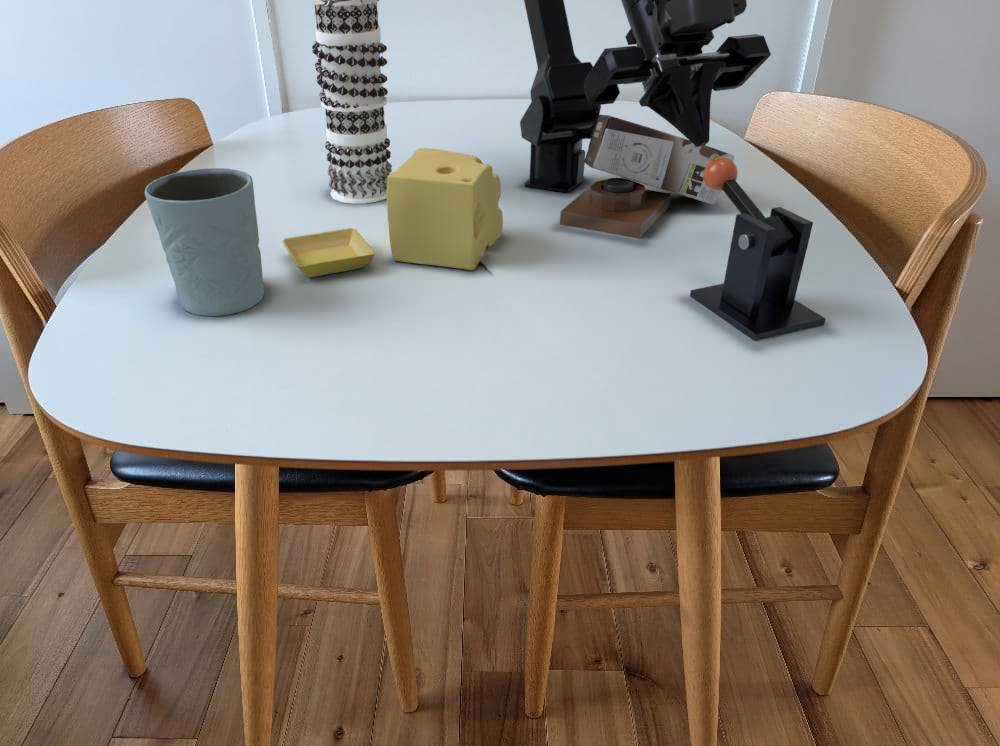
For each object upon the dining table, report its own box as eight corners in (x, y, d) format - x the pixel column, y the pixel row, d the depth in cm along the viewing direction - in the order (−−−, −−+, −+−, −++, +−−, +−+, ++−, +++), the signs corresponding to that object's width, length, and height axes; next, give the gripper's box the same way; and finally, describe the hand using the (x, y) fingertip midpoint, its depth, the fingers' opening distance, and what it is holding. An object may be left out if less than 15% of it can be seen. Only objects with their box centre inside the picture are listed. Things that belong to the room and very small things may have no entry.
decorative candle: (330, 207, 105) (307, -7, 91) (325, 184, 112) (303, -17, 98) (399, 201, 106) (387, -10, 92) (390, 179, 114) (377, -19, 100)
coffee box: (736, 153, 96) (608, 114, 94) (715, 206, 98) (590, 169, 97) (715, 148, 104) (597, 112, 103) (696, 196, 107) (581, 162, 105)
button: (598, 198, 98) (599, 184, 97) (608, 189, 100) (609, 175, 99) (627, 203, 96) (628, 188, 95) (636, 194, 99) (638, 180, 98)
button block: (559, 228, 97) (561, 196, 95) (594, 198, 106) (596, 168, 104) (639, 242, 93) (643, 209, 91) (668, 210, 102) (673, 179, 100)
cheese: (503, 238, 95) (504, 153, 89) (474, 275, 87) (474, 184, 81) (421, 228, 98) (417, 146, 92) (386, 263, 90) (379, 174, 84)
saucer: (283, 255, 92) (280, 238, 91) (356, 243, 94) (354, 226, 93) (299, 285, 85) (297, 267, 84) (377, 271, 88) (376, 253, 87)
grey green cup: (219, 328, 77) (195, 208, 71) (149, 304, 82) (119, 189, 75) (291, 289, 84) (274, 176, 78) (222, 269, 89) (201, 160, 82)
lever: (692, 179, 80) (704, 152, 77) (719, 174, 81) (731, 148, 78) (756, 263, 74) (771, 237, 71) (784, 257, 75) (801, 231, 72)
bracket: (688, 300, 81) (704, 206, 75) (754, 287, 83) (773, 195, 78) (753, 346, 73) (775, 244, 68) (823, 329, 75) (849, 230, 70)
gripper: (608, -48, 72) (662, 107, 69) (777, -58, 77) (833, 86, 75) (562, 35, 82) (608, 172, 80) (714, 21, 88) (761, 149, 85)
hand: (703, 144), depth 80 cm, fingers closed
